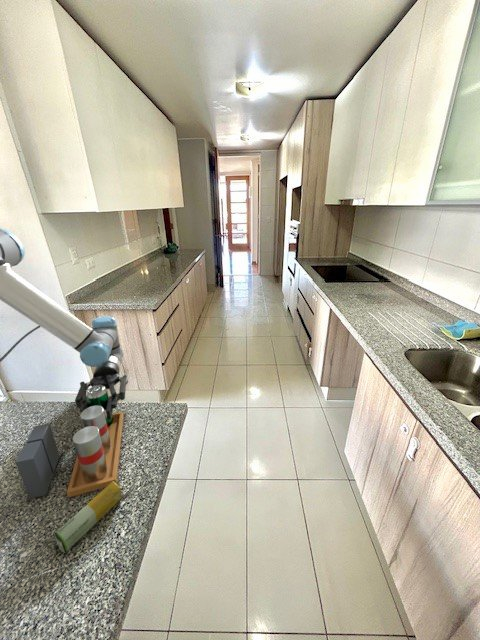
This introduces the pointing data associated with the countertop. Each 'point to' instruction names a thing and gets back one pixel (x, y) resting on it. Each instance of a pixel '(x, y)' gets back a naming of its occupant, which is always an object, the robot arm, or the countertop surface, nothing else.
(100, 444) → the matching cans
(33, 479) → the grey packets
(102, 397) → the soda can
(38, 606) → the countertop surface
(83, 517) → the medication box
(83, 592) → the countertop surface
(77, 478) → the can tray
